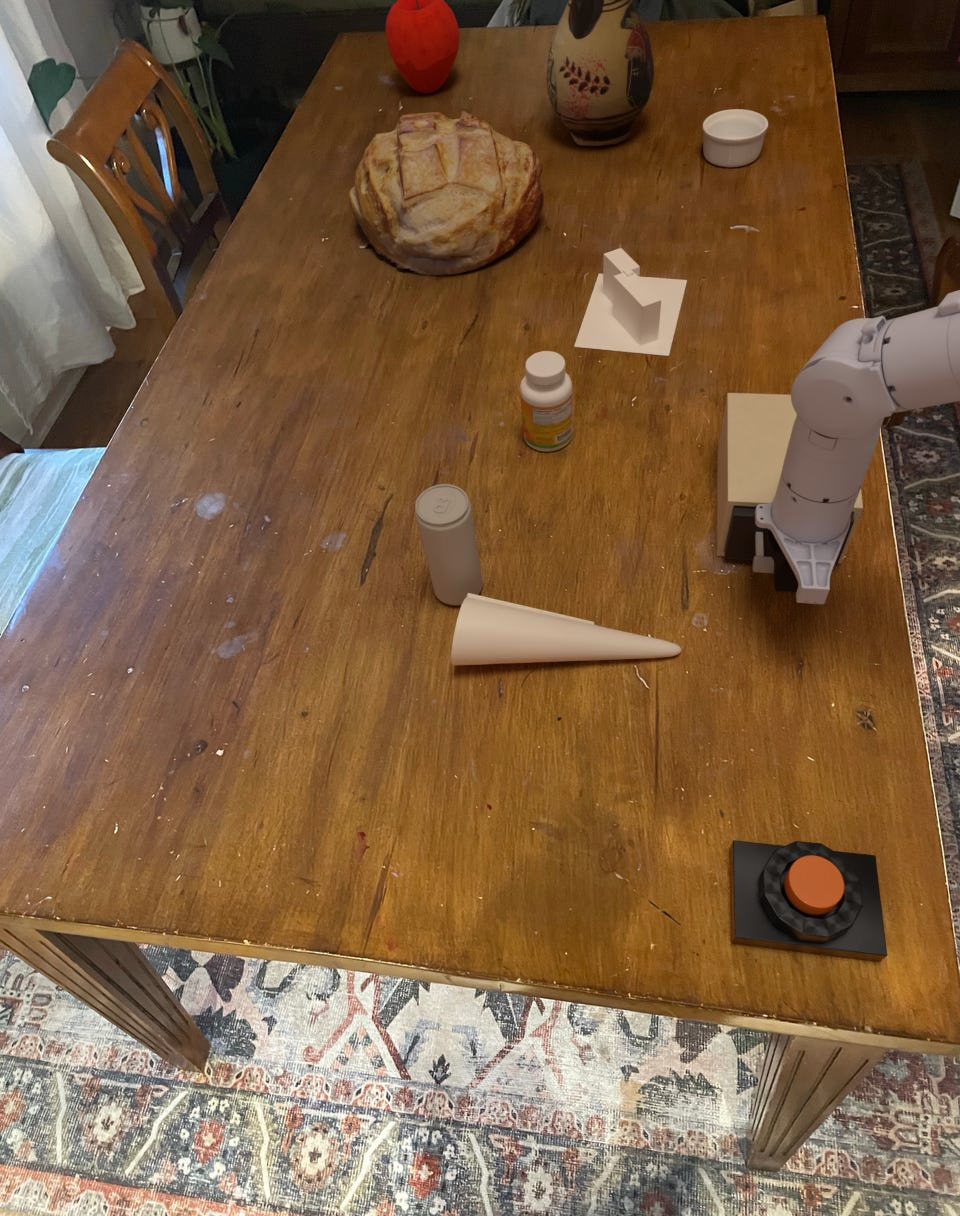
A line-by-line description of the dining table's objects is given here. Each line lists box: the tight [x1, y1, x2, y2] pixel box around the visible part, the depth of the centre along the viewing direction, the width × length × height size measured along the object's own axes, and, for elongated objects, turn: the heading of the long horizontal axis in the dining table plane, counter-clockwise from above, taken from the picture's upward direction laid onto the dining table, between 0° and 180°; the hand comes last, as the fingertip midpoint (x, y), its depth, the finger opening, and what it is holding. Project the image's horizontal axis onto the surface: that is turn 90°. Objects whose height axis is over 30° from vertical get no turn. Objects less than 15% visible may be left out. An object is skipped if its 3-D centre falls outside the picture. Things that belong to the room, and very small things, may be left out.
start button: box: [784, 855, 844, 915], centre depth 58 cm, size 4×4×2 cm
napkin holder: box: [573, 247, 688, 357], centre depth 101 cm, size 15×11×6 cm
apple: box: [384, 0, 461, 94], centre depth 139 cm, size 12×12×13 cm
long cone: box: [450, 593, 682, 666], centre depth 74 cm, size 6×6×19 cm
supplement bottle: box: [519, 350, 574, 453], centre depth 88 cm, size 5×5×10 cm
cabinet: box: [716, 392, 864, 565], centre depth 80 cm, size 14×11×8 cm
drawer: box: [723, 506, 854, 574], centre depth 78 cm, size 18×10×6 cm, turn 171°
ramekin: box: [702, 108, 769, 168], centre depth 120 cm, size 9×9×4 cm
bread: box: [348, 108, 545, 276], centre depth 113 cm, size 25×27×15 cm
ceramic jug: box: [546, 0, 655, 147], centre depth 117 cm, size 17×15×30 cm
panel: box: [729, 839, 888, 963], centre depth 60 cm, size 10×7×4 cm
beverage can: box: [414, 483, 484, 606], centre depth 76 cm, size 5×5×12 cm
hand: (787, 586), depth 74 cm, fingers closed, pressing on drawer
